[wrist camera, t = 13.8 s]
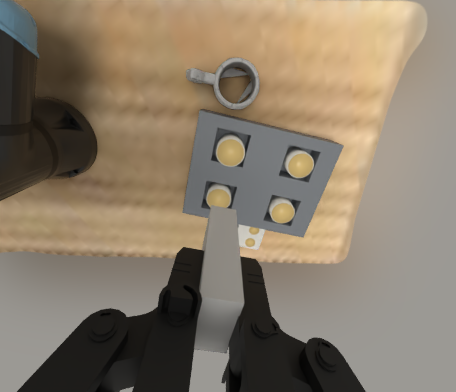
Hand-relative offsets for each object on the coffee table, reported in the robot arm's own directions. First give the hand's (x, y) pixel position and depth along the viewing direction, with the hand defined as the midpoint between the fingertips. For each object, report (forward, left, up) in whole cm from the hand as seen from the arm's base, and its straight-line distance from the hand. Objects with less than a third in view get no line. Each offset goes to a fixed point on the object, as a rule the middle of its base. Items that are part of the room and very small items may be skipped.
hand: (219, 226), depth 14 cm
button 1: (+1, -11, -33) cm, 34 cm away
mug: (-2, +9, -34) cm, 35 cm away
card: (+9, -21, -33) cm, 40 cm away
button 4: (+14, -1, -33) cm, 35 cm away
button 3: (+14, -11, -33) cm, 37 cm away
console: (+8, -6, -33) cm, 35 cm away
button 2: (+1, -1, -30) cm, 30 cm away
